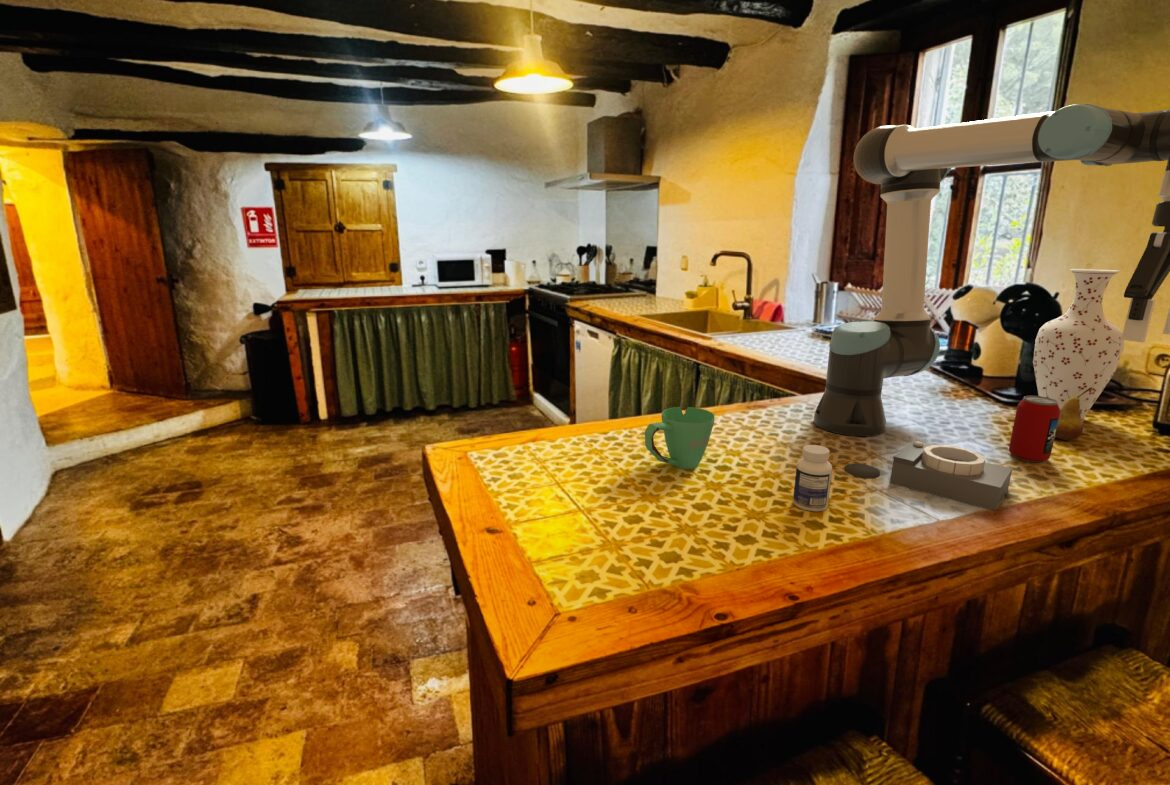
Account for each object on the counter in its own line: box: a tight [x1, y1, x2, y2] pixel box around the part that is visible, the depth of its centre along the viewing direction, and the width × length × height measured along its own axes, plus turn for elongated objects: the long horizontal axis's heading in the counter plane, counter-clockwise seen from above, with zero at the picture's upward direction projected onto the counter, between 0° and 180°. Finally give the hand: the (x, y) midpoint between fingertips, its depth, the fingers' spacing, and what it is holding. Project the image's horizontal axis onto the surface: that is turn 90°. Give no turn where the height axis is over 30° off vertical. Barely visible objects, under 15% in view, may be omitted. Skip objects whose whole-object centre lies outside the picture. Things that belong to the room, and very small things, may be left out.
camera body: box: [889, 440, 1013, 512], centre depth 105 cm, size 16×11×6 cm
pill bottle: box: [792, 444, 833, 512], centre depth 97 cm, size 5×5×10 cm
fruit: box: [1055, 387, 1092, 442], centre depth 128 cm, size 6×6×12 cm
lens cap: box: [843, 463, 881, 479], centre depth 112 cm, size 6×6×1 cm
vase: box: [1032, 268, 1125, 422], centre depth 140 cm, size 16×16×35 cm
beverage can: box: [1008, 395, 1060, 463], centre depth 117 cm, size 7×7×12 cm
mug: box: [644, 406, 715, 470], centre depth 112 cm, size 15×10×10 cm
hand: (1153, 337), depth 97 cm, fingers open, 13 cm apart
